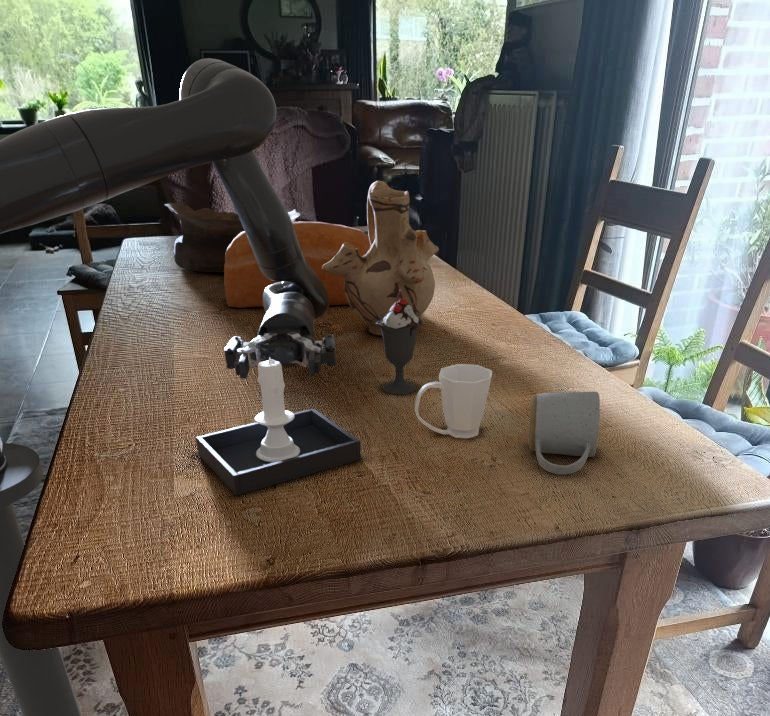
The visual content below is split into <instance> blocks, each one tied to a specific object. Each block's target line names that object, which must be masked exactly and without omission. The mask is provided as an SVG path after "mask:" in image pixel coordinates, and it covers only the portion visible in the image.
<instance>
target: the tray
mask: <svg viewBox="0 0 770 716" xmlns="http://www.w3.org/2000/svg"><path fill="white" fill-rule="evenodd" d="M292 413H293V414H294V416H295V417H294V419H293V420H292V421H291V422H289V423H287V424H285V425H284V426H283V427H284V429H285V431H286V433H287V435H288V436H289V437H291V438H292V440H293V442H294V444H295V445H296V446H298V447H299V449H300V453H299V455H298V456H296V457H292V458H289V459H285V460H282V461H278V462H266V461H263V460H261V459H259V458H258V457H257V456H256V452H257V450H258V449H259V448H260V447H261V442H262V440H263V439H264V438H265V437H266V434H267V431H268V427H267V426H264V425H261V424H259V423H257V422H256V421H255V422H252V423H248V424H243V425H240V426H235V427H231V428H227V429H224V430H219V431H214V432H211V433H206V434H202V435H199V436H196V437H195V442H196V447H197V448H196V449H197V453H198V456H199V457H200V459H202V461H203V462H204V463H205V464H206V465H207V466H208V467H209V468H210V469H211V470H212V471H213V472H214V474H216V476H217V477H219V479H220V480H221V481H222V482H223V484H225V485H226V486H227V487H228V489H229V490H230V491H231V492H232V493H233V494H234V495H235V496H236V497H237V496H240V495H243V494H247V493H251V492H254V491H258V490H262V489H265V488H268V487H272V486H275V485H279V484H282V483H284V482H285V483H286V482H289V481H291V480H295V479H299V478H302V477H305V476H309V475H312V474H315V473H319V472H322V471H326V470H330V469H333V468H336V467H340V466H344V465H346V464H351V463H353V462H357V461H360V460H362V451H361V440H360V439H359V438H357V437H355V436H354V435H352V434H351V433H350V432H348V431H347V430H345V429H344V428H342V427H341V426H340V425H338V424H337V423H335V422H334V421H333V420H331V419H330V418H328V417H327V416H325V415H324V414H323V413H321V412H320V411H318V410H317V409H315V408H308V409H306V410H301V411H297V412H292Z"/></svg>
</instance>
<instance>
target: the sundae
mask: <svg viewBox="0 0 770 716" xmlns="http://www.w3.org/2000/svg"><path fill="white" fill-rule="evenodd" d="M398 293H399V294H398V296H400V293H401V290H400V291H399V292H398ZM398 296H397V299H396V303H394V304H393V305H392V307H391V308H390V310H389V313H388V314H387V315H386V316H385V317H382V318H381V319H379V320H378V321H377V322H376V324H377V325H379V326H380V328H381V331H382V336H381V337H382V342H383V350H384V354H385V359H386V360H387V361H388V362H389V363H390V364H391V365H393V366H394V368H395V375H394V379H393V381H391V382H387V383H385V384H384V385H383V387H382V389H383V391H384V392H385V393H388V394H391V395H407V394H411V393H413V392H415V390H416V389H417V387H416V385H415V384H413V383H412V382H409V381H408V382H407V381H406V380H405V375H404V368H405V367H406V366H407V365H409V363H410V362H411V361H412V360H413V358H414V354H415V348H416V342H417V341H416V340H417V335H418V331H419V328H421V327H422V326H423V325H424V322H423V320H422V318H421V317H417V315H415V314H414V311H415V309H414V308H412V307H411V306H410V305H409V304H408V303H407V301H406V299H402V298H401V296H400V298H401V299H400V300H399V302H397V300H398Z"/></svg>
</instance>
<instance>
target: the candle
mask: <svg viewBox="0 0 770 716" xmlns="http://www.w3.org/2000/svg"><path fill="white" fill-rule="evenodd" d="M257 371H258V372H257V373H258V378H257V382H258V384H259V387H260V393H261V400H262V411H261V412H259V413H257V415H255V416H254V421H255V422H257V423H259V424H261V425H264V426H267V427H268V431H267V434H266V437H265V438H264V439H263V440H262V442H261V447H260V448H259V449H258V450H257V452H256V456H257V457H258V458H259V459H261V460H263V461H266V462H278V461H282V460H285V459H289V458H292V457H296V456H298V455H299V453H300V449H299V447H298V446H296V445H295V444H294V442H293V440H292V438H291V437H289V436H288V435H287V433H286V431H285V429H284V427H283V426H284V425H285V424H287V423H289V422H291V421H292V420H293V419H294V417H295V416H294V414H293V413H294V412H292V411H290V410H286V406H285V397H284V391H285V388H286V384H285V381H284V375H283V366H281V363H279V362H278V361H275V360H273V359H271V358H270V357H269V360H268V361H263V362H261V363H259V365H258V368H257Z"/></svg>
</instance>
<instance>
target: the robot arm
mask: <svg viewBox="0 0 770 716" xmlns="http://www.w3.org/2000/svg"><path fill="white" fill-rule="evenodd" d="M276 121H277V105H276V101H275V98H274V96H273V94H272V92H271V91H270V89H269V88H268V87H267V85H266V84H265V83H263V81H261V80H260V79H259V78H258V77H256V76H255V75H253V74H252V73H251V72H248V71H246V70H244V69H243V68H240V67H237V66H235V65H233V64H231V63H229V62H226V61H223V60H221V59H217V58H210V57H208V58H201V59H199V60H196V61H195V62H193V63H192V64H191V65H190V66H189V67H188V68H187V69H186V70H185V72H184V74H183V76H182V79H181V82H180V88H179V99H178V100H176V101H172V102H169V103H165V104H161V105H152V106H129V107H128V106H125V107H122V106H121V107H101V108H91V109H82V110H79V111H73V112H69V113H66V114H64V115H59V116H57V117H53V118H51V119H46V120H43V121H41V122H37V123H35V124H32V125H30V126H27V127H25V128H22V129H20V130H17V131H16V132H13V133H11V134H9V135H7V136H6V137H3V138H2V139H0V235H1V234H4V233H8V232H10V231H15V230H19V229H23V228H25V227H29V226H33V225H37V224H39V223H43V222H46V221H49V220H52V219H53V220H54V219H55V218H60V217H62V216H65V215H68V214H72V213H74V212H78V211H81V210H84V209H86V208H88V207H91V206H94V205H97V204H99V203H102V202H104V201H107V200H110V199H112V198H114V197H116V196H119V195H121V194H124V193H127V192H129V191H132V190H134V189H136V188H139V187H142V186H145V185H148V184H150V183H151V184H152V183H153V182H155V181H158V180H160V179H163V178H165V177H169V176H170V175H173V174H176V173H179V172H180V171H184V170H188V169H191V168H195V167H198V166H203V165H206V164H211V163H212V165H213V167H214V169H215V171H216V173H217V175H218V177H219V179H220V181H221V182H222V184H223V187H224V188H225V191H226V193H227V194H228V196H229V198H230V201H231V203H232V205H233V207H234V210H235V211H236V212H235V213H236V214H238V216H239V218H240V221H241V223H242V225H243V228H244V230H245V233H246V235H247V238H248V240H249V243H250V246H251V248H252V251H253V253H254V256H255V258H256V261H257V263H258V266H259V268H260V270H261V272H262V274H263V275H264V276H265V277H266V278H267V279H269V280H272V281H281V282H277V283H274V284H271V285H270V286H268V287H267V288H266V289H265V290H264V293H263V306H264V307H263V309H264V313H265V314H264V316H263V319H262V322H261V323H260V326H259V329H258V332H257V336H256V337H254V338H253V339H252V340H251V341H244V340H243V339H242V337H241V336H238V335H237V336H236V335H235V336H233V337H231V339H230V340H229V341H228V343H227V345H226V346H225V347H224V349H223V351H224V358H225V359H224V360H225V366H226V369H229V370H235V375H236V376H239V378H240V380H245V379H247V378H248V375H249V373H250V369H252V368H256V369H258V365H259V363H261V362H263V361H268V360H269V357H270V358H271V359H273V360H275V361H278V362H279V363H281V366H282V368H285V367H287V368H288V367H295V366H298V365H299V366H301V367H304V368H308V377H309V378H315V377H316V374H320V373H321V372H322V368H323V365H325V364H326V366H327V367H335V366H337V358H336V357H337V356H336V342H335V335H334V334H331V333H327V334H325V335H324V337H322V338H321V340H315V335H316V332H315V321H316V320H320V319H322V318H324V316H325V315H326V314H327V312H328V310H329V307H330V305H329V297H328V293H327V291H326V288H325V286H324V285H323V283H322V281H321V280H320V279H319V277H318V276H317V275H316V273H315V272H314V271H313V269H312V268H311V266H310V265H309V263H308V262H307V260H306V259H305V257H304V255H303V253H302V250H301V247H300V244H299V241H298V238H297V235H296V232H295V229H294V226H293V223H292V221H291V218H290V216H289V214H288V212H289V211H288V210H287V208H286V206H285V204H284V202H283V201H282V199H281V197H280V196H279V194H278V193H277V191H276V189H275V187H274V186H273V184H272V183H271V181H270V179H269V177H268V176H267V174H266V172H265V170H264V168H263V167H262V164H261V162H260V160H259V158H258V156H257V154H256V151H255V150H257V149H258V148H260V147H261V146H262V145H263V144H265V142H266V141H267V140H268V139H269V137H270V136H271V134H272V132H273V130H274V128H275V124H276ZM282 281H283V282H282ZM2 443H3V440H2V437H1V436H0V474H1V473H2V472H3V471H4V470H5V469H6V467H7V460H6V457H5V456H4V454H3V449H2V445H3V444H2Z"/></svg>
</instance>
